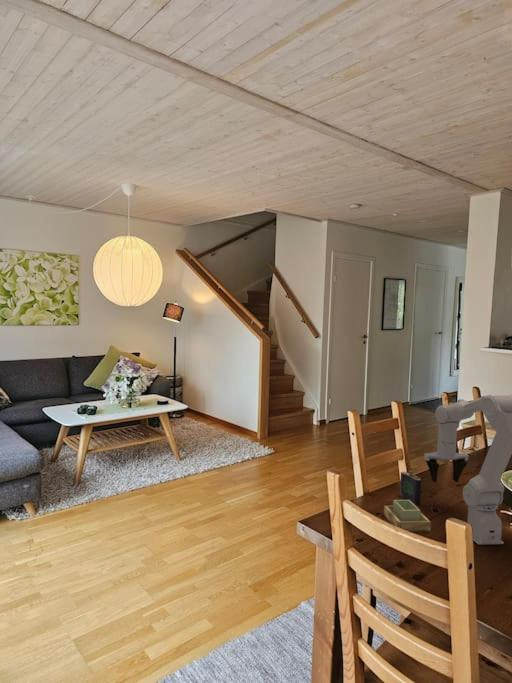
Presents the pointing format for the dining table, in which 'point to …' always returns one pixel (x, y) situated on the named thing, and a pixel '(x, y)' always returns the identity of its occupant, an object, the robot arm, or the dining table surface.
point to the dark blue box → (410, 487)
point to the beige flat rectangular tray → (412, 526)
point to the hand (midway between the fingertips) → (444, 480)
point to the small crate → (406, 510)
